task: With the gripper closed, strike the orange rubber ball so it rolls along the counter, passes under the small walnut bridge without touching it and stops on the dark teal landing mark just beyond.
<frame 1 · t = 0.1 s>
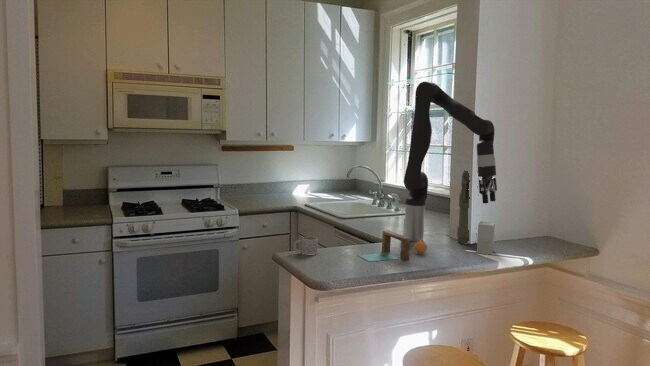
hand: (489, 202, 221), 22 cm above the worktop, tool pointing down, fingers open, 8 cm apart
bridge: (395, 256, 213), on the worktop
ball: (420, 247, 217), on the worktop
small box: (484, 252, 224), on the worktop
landing mark: (378, 257, 209), on the worktop
olive green statue: (466, 242, 243), on the worktop
mug: (305, 254, 213), on the worktop
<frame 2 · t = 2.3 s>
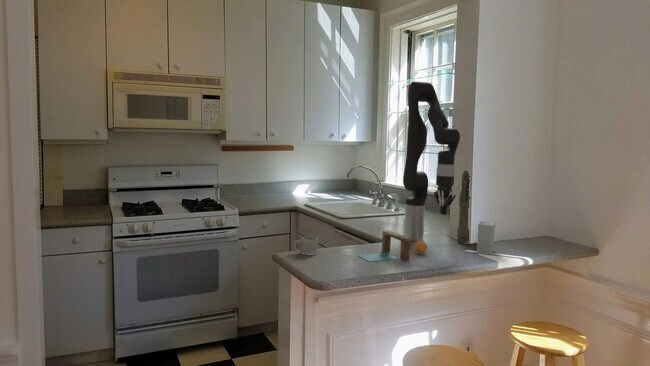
hand: (443, 214, 220), 17 cm above the worktop, tool pointing down, fingers closed
nothing on the worktop moved.
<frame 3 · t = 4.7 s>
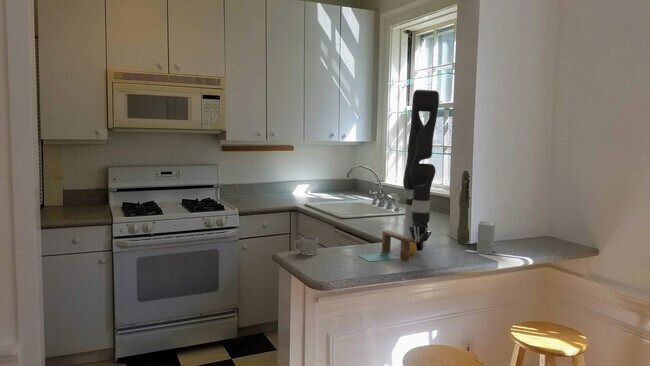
hand: (419, 250, 216), 2 cm above the worktop, tool pointing down, fingers closed
ball: (410, 248, 215), on the worktop, touching gripper
everything else where it was.
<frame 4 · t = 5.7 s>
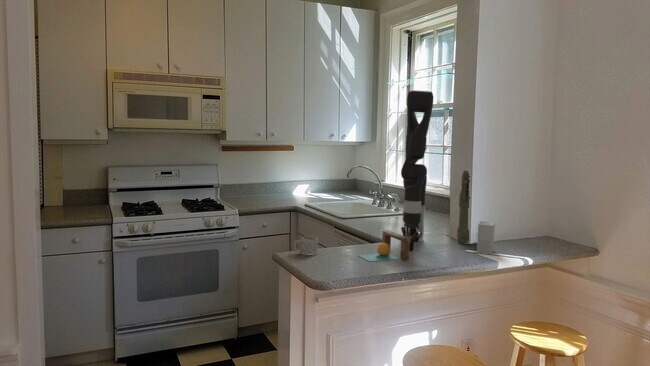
hand: (410, 251, 215), 2 cm above the worktop, tool pointing down, fingers closed
ball: (383, 249, 212), on the worktop
everything else where it was.
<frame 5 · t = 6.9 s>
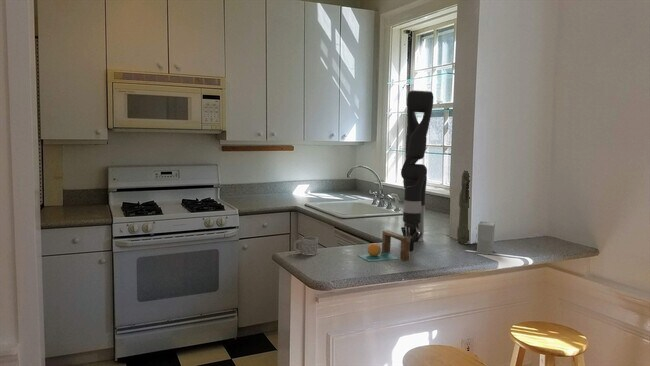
hand: (410, 251, 215), 2 cm above the worktop, tool pointing down, fingers closed
ball: (374, 249, 211), on the worktop
everything else where it was.
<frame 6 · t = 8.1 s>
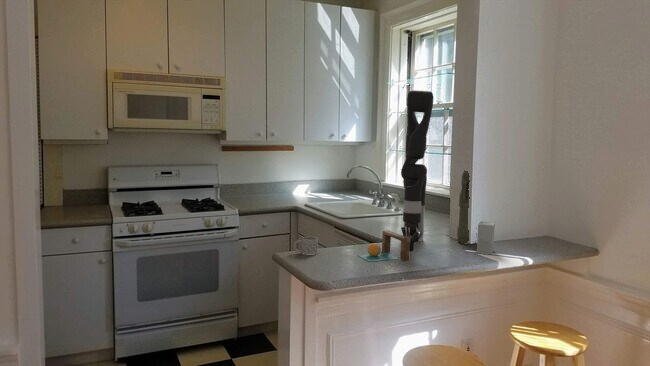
hand: (410, 251, 215), 2 cm above the worktop, tool pointing down, fingers closed
nothing on the worktop moved.
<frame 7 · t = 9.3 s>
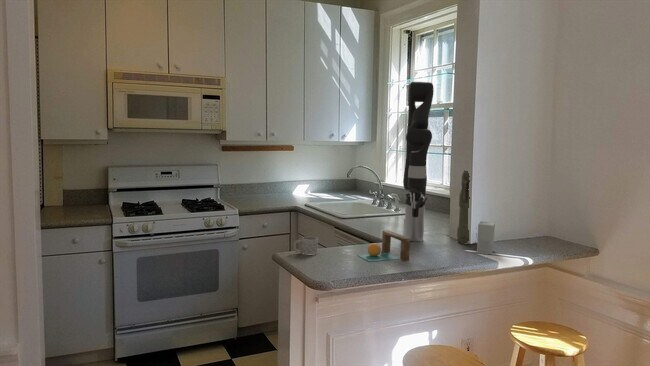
hand: (415, 217, 215), 16 cm above the worktop, tool pointing down, fingers closed
nothing on the worktop moved.
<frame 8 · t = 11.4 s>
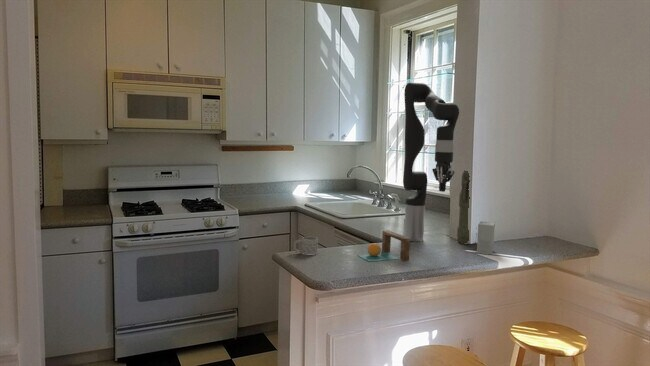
hand: (442, 191, 217), 27 cm above the worktop, tool pointing down, fingers closed
nothing on the worktop moved.
at the end: ball 2.4 cm from the landing mark (horizontally); ball never touched bridge; ball at rest at the end (0.0 cm/s) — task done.
